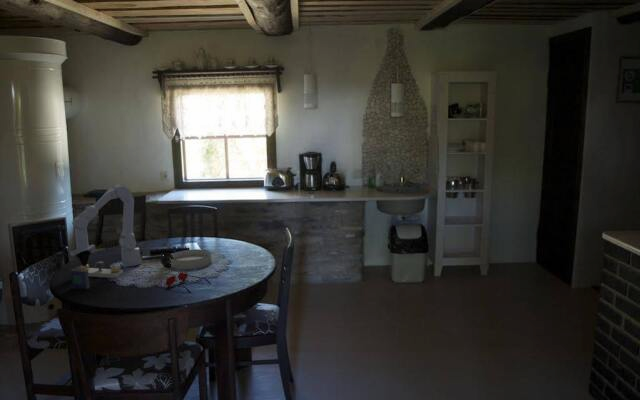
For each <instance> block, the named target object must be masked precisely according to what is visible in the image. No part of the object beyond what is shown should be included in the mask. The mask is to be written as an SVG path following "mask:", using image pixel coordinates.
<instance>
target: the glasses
mask: <svg viewBox="0 0 640 400" xmlns="http://www.w3.org/2000/svg"><path fill="white" fill-rule="evenodd" d="M176 276H177V278H178V279H176ZM188 277H192V278H196V279H197V278H198V279H201V280H205V281H206V282H207V283H208V284H209V285H211V284H212V283H211V282H210V281H209V279H207V278H204V277H200V276H195V275H190V274H188V272H187V271H185V272H184V271H181V272H179V273H177V274H175V275H172V276H170V277H167V278H166V281H165V282H164V285H165V284H166V287H168V288H169V287H170V286H176V287H180V288H181V287H182V288H185V290H186V291H187V292H188V293H190V294H191V293H192V291H190V290H189V289H188V287H186V286H184V285H183V286H182V285H178V284H176V283H177V282H178V281H182V282H185V281H186V280H187V278H188ZM174 283H175V284H174Z"/></svg>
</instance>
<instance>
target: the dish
mask: <svg viewBox="0 0 640 400" xmlns="http://www.w3.org/2000/svg"><path fill="white" fill-rule="evenodd" d="M211 254H212V253H211V251H210V250H206V249H201V248H200V249H197V248H196V249H194V248H193V249H185V250H180V251H175V252H173V253H172V254H170V255H172V256H173V258H174V259H171V258H170V257H169V265H170V264H171V266H170V267H171V268H172V269H177V270H194V269H199V268H203V267H206V266H208V265H210V264H211V263H212V257H211ZM170 261H171V263H170Z"/></svg>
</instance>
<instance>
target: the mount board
mask: <svg viewBox="0 0 640 400" xmlns="http://www.w3.org/2000/svg"><path fill="white" fill-rule="evenodd" d="M119 270H120V272H117V273H111V268H101V270H99V268H96V267H89V270H88V277H94V278H95V277H97V278H108V279H109V278H110V279H116V278H118V277H120V276H122V275H123V274H124V270H123V269H119ZM121 274H122V275H121ZM119 275H120V276H119ZM117 276H118V277H117ZM115 277H116V278H115Z"/></svg>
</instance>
